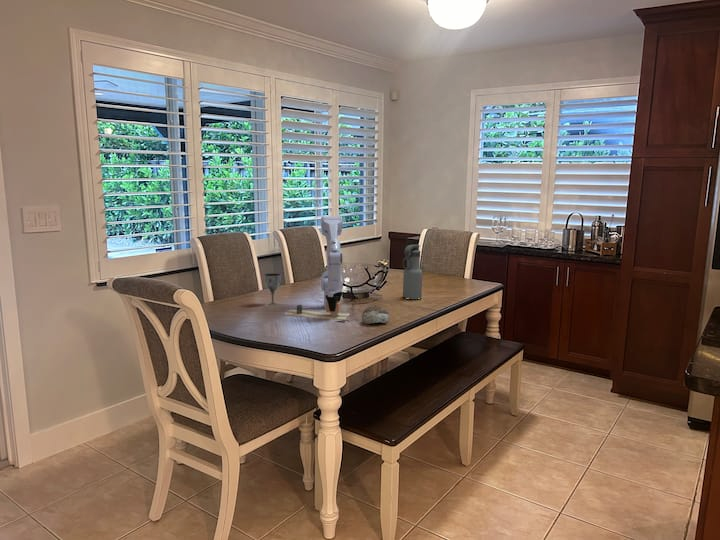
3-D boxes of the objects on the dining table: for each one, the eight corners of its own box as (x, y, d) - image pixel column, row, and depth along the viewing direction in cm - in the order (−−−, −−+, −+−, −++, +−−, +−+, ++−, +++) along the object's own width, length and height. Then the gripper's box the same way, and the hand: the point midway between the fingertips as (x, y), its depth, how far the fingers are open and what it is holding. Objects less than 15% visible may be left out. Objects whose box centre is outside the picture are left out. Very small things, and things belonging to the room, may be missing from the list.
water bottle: (411, 301, 275) (413, 246, 271) (398, 298, 283) (399, 244, 278) (425, 298, 282) (427, 245, 277) (411, 295, 289) (413, 243, 285)
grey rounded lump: (377, 321, 223) (370, 299, 227) (360, 330, 228) (353, 308, 232) (397, 321, 235) (389, 300, 238) (380, 329, 240) (374, 308, 243)
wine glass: (261, 304, 262) (260, 274, 259) (274, 302, 267) (273, 272, 265) (271, 307, 256) (270, 276, 254) (284, 305, 262) (284, 274, 260)
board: (290, 311, 249) (290, 301, 248) (350, 316, 243) (350, 305, 242) (282, 318, 237) (282, 307, 236) (344, 322, 232) (344, 311, 231)
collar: (329, 309, 241) (329, 300, 241) (341, 310, 240) (341, 301, 240) (326, 312, 236) (326, 303, 235) (338, 313, 235) (338, 304, 234)
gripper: (329, 276, 243) (329, 305, 246) (321, 281, 229) (320, 312, 232) (345, 277, 242) (344, 306, 244) (337, 282, 228) (336, 314, 230)
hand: (334, 309), depth 238 cm, fingers closed on collar, 6 cm apart
